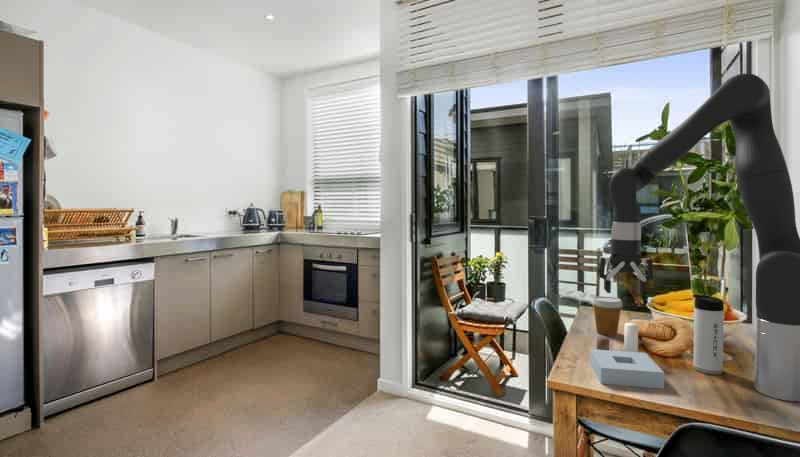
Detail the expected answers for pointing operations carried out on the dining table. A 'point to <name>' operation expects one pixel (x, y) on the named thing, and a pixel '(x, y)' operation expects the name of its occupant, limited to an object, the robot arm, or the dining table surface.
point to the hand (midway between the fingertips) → (624, 293)
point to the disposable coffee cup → (607, 314)
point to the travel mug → (708, 334)
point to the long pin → (631, 337)
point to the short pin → (602, 343)
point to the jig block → (626, 368)
